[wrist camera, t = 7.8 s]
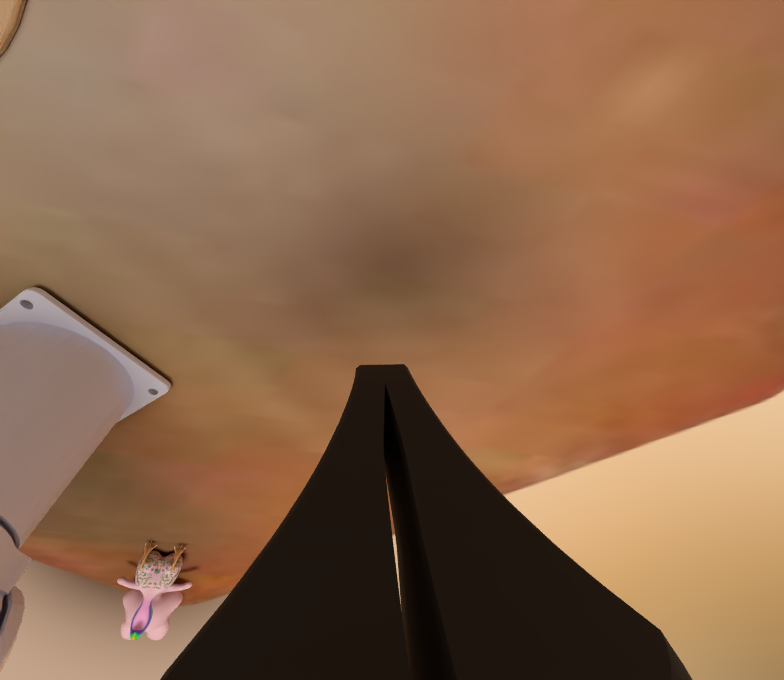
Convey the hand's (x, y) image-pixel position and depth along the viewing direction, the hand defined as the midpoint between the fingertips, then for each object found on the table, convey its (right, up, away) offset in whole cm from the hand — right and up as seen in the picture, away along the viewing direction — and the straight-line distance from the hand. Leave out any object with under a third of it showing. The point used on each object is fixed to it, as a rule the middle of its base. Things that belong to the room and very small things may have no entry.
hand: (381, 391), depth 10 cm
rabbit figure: (-23, -22, +25) cm, 41 cm away
